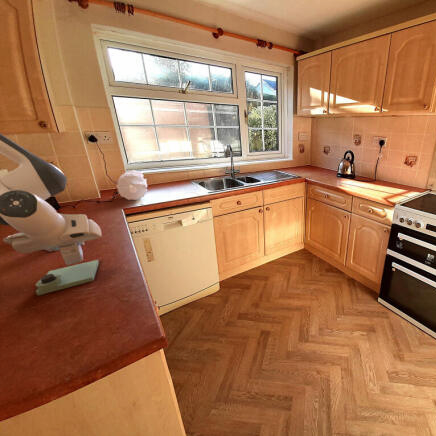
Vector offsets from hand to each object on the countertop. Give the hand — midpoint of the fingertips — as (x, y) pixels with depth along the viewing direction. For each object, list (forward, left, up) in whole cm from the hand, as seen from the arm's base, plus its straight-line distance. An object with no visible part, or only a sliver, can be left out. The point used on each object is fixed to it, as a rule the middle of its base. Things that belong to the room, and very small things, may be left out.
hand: (70, 245), depth 82 cm
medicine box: (0, -1, -5) cm, 5 cm away
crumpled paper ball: (+15, +100, -11) cm, 102 cm away
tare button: (-6, -6, -8) cm, 12 cm away
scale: (-2, -2, -11) cm, 11 cm away
